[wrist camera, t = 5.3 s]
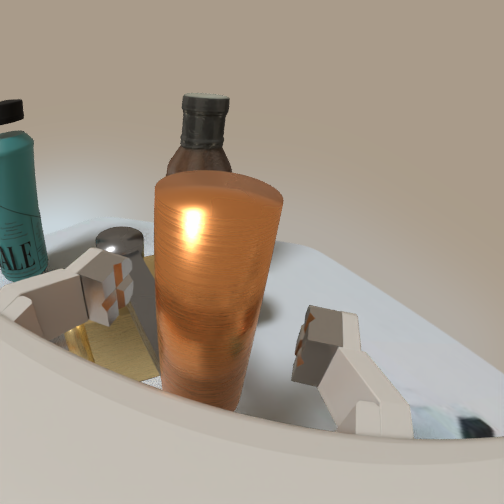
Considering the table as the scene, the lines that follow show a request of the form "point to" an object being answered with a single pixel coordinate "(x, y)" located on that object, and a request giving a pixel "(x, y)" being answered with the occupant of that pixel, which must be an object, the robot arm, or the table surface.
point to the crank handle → (202, 279)
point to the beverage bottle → (19, 202)
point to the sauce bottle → (202, 134)
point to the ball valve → (112, 343)
